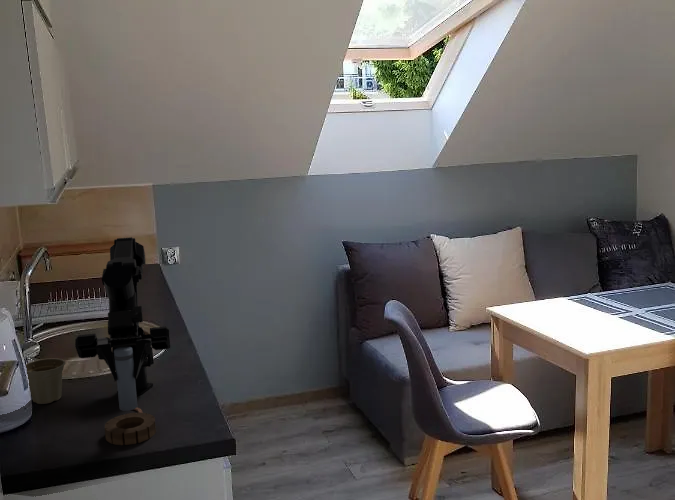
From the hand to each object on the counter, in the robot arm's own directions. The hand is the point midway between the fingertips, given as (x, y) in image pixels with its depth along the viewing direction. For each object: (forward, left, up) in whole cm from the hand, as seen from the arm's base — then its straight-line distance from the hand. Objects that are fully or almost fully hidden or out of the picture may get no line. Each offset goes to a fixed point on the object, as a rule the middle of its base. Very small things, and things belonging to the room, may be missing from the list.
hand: (125, 379), depth 140 cm
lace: (-10, -5, -12) cm, 17 cm away
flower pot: (-14, -31, -13) cm, 36 cm away
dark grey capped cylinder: (-1, -1, -7) cm, 7 cm away
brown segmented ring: (-1, -1, -12) cm, 13 cm away
